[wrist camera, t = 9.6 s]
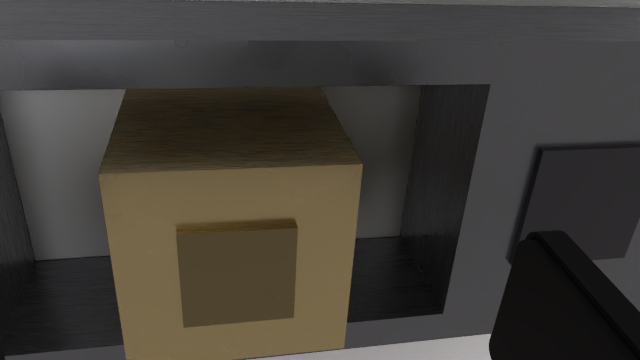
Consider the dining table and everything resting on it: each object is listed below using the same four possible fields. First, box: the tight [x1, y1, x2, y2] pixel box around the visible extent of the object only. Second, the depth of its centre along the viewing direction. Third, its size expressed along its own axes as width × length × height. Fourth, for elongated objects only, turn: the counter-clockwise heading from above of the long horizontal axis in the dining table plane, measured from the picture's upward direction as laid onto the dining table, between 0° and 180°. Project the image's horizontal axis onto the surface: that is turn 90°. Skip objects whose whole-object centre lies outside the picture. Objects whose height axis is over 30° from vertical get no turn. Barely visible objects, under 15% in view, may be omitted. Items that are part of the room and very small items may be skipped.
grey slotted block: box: [0, 0, 640, 360], centre depth 15 cm, size 25×9×4 cm, turn 88°
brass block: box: [98, 86, 363, 360], centre depth 14 cm, size 5×5×6 cm
